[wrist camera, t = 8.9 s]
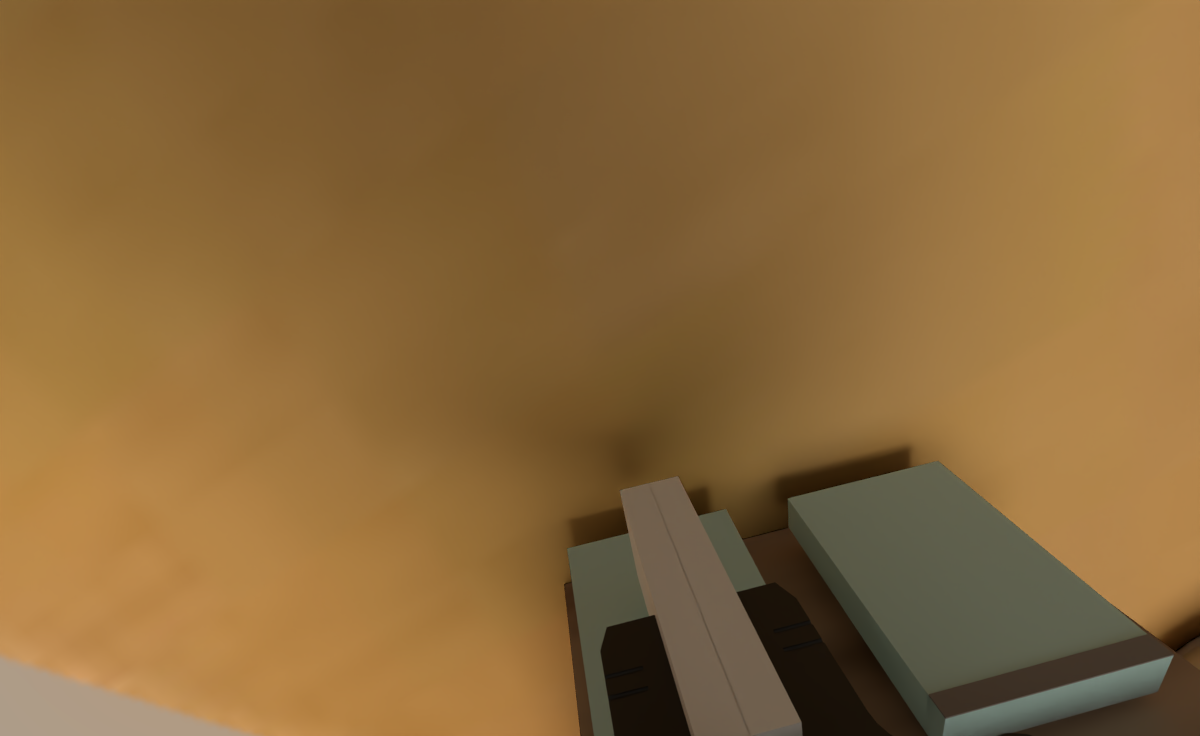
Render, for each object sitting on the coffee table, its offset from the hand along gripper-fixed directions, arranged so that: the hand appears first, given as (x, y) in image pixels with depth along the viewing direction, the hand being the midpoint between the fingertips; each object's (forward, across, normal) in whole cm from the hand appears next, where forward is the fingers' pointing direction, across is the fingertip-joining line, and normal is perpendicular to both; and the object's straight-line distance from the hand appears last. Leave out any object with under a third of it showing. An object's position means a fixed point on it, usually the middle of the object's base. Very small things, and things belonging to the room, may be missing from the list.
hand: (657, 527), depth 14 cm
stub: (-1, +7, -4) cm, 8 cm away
